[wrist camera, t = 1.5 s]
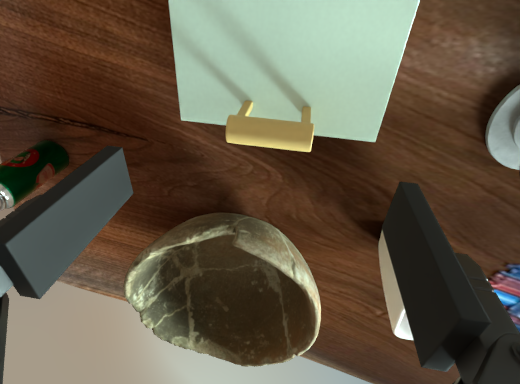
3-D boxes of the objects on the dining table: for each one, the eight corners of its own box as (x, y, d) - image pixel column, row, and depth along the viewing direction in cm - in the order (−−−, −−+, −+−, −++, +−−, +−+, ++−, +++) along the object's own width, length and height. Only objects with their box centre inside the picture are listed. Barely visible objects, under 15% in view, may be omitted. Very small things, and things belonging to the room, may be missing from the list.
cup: (370, 249, 48) (390, 338, 36) (379, 215, 44) (404, 302, 32) (417, 253, 47) (454, 345, 35) (431, 218, 43) (477, 309, 31)
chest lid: (373, 138, 26) (391, 182, 20) (183, 117, 28) (149, 152, 22) (441, -81, 18) (505, -114, 12) (162, -94, 19) (96, -129, 13)
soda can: (65, 172, 48) (2, 219, 38) (35, 152, 47) (-37, 196, 37) (76, 154, 45) (12, 199, 36) (45, 132, 44) (-31, 173, 34)
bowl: (146, 170, 45) (86, 237, 33) (323, 173, 41) (327, 251, 29) (185, 284, 61) (153, 358, 49) (315, 294, 57) (316, 378, 44)
